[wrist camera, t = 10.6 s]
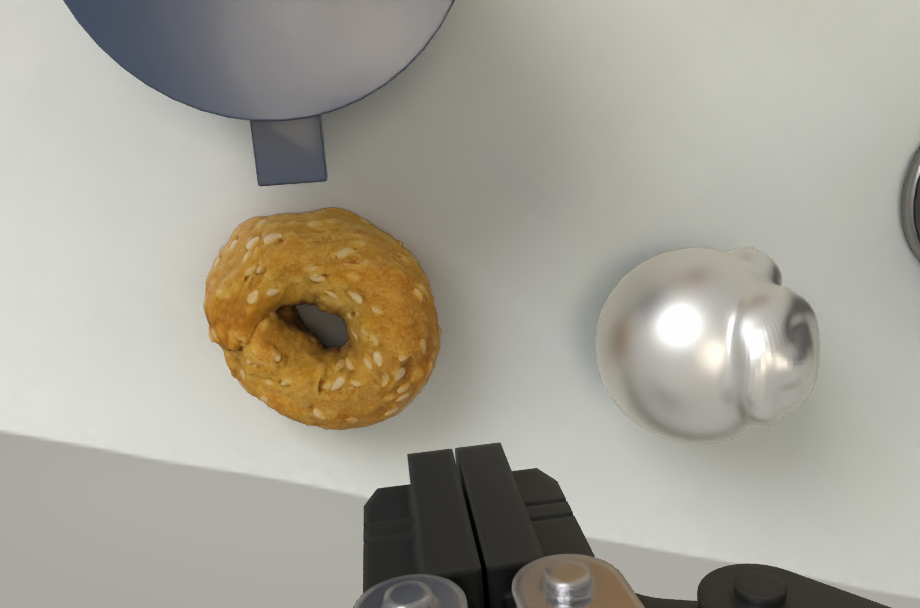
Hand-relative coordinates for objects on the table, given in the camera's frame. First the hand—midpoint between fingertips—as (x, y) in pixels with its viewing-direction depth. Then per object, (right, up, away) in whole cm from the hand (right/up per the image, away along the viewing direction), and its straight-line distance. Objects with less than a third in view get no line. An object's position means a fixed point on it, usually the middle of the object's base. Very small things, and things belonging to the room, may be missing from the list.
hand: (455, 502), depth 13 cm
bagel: (-6, +3, +26) cm, 27 cm away
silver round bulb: (+10, +3, +29) cm, 31 cm away
